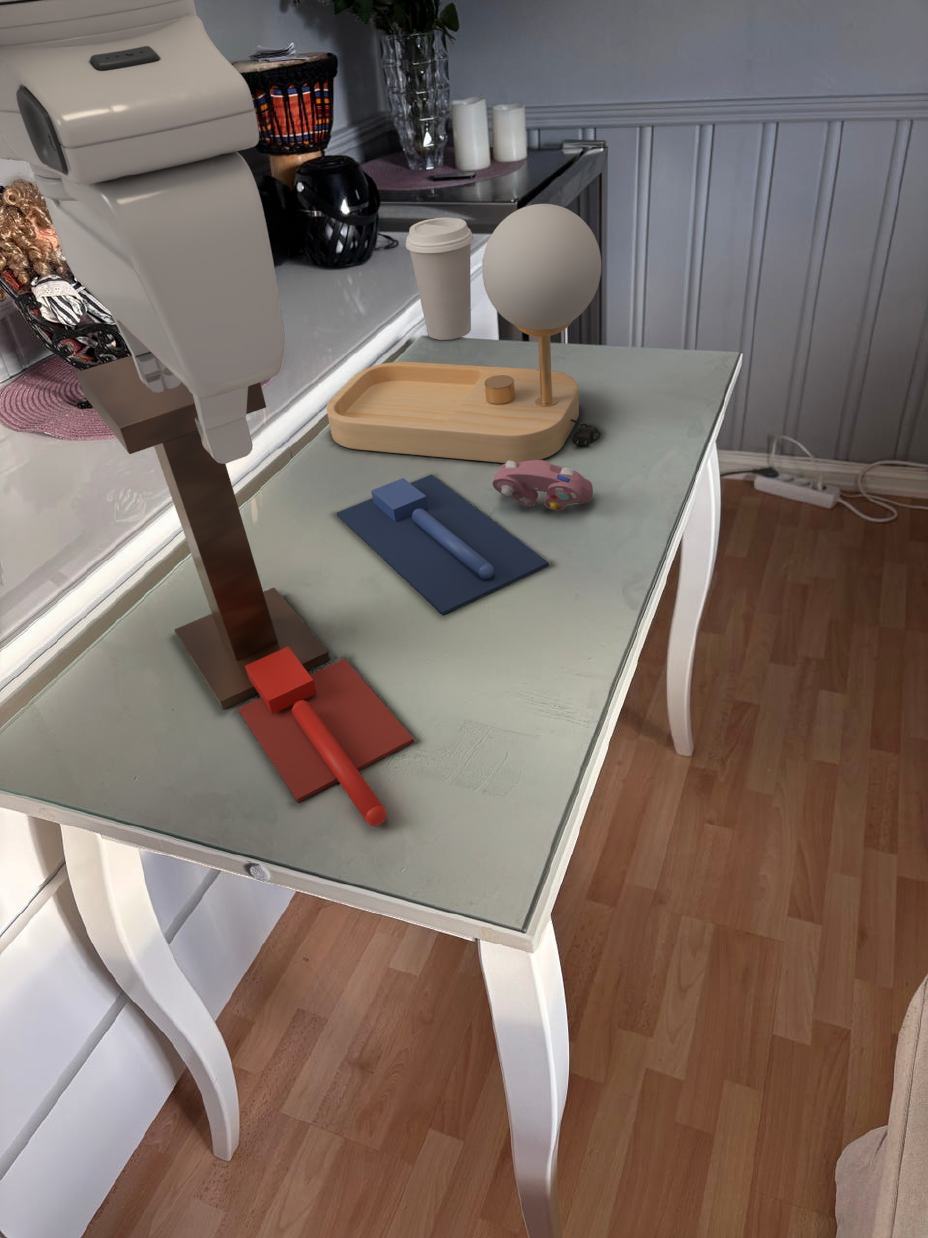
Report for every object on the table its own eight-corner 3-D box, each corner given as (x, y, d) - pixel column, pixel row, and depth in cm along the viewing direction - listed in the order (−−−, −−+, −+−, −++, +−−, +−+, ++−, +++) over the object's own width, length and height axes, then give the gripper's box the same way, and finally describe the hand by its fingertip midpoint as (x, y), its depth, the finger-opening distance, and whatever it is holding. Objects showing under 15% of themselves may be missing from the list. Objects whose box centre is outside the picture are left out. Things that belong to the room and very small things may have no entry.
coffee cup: (493, 331, 133) (485, 224, 124) (437, 349, 130) (424, 241, 121) (460, 313, 140) (450, 211, 131) (406, 331, 137) (391, 227, 127)
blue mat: (443, 615, 83) (442, 612, 83) (336, 515, 98) (336, 512, 98) (549, 565, 87) (548, 562, 87) (431, 477, 102) (431, 474, 102)
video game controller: (498, 515, 98) (482, 479, 92) (510, 479, 99) (495, 441, 93) (587, 527, 94) (577, 491, 88) (598, 490, 96) (589, 452, 90)
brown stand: (223, 710, 76) (119, 427, 59) (177, 637, 84) (75, 372, 68) (330, 660, 79) (260, 381, 63) (276, 595, 88) (202, 333, 71)
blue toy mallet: (508, 573, 86) (507, 559, 85) (473, 589, 85) (471, 576, 84) (405, 490, 100) (403, 477, 99) (373, 503, 98) (370, 490, 97)
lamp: (316, 446, 111) (269, 230, 95) (374, 385, 123) (340, 184, 107) (583, 471, 100) (580, 233, 84) (616, 401, 112) (619, 181, 97)
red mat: (298, 803, 67) (296, 799, 67) (238, 711, 75) (237, 708, 75) (414, 742, 71) (413, 738, 71) (345, 661, 79) (344, 657, 79)
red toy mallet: (406, 815, 65) (403, 801, 64) (357, 842, 64) (353, 828, 63) (292, 659, 78) (288, 646, 77) (249, 679, 77) (244, 665, 76)
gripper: (-38, 75, 40) (75, 370, 49) (72, 133, 26) (203, 532, 35) (102, 51, 43) (186, 336, 51) (272, 92, 29) (348, 476, 37)
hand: (194, 417), depth 43 cm, fingers open, 8 cm apart
